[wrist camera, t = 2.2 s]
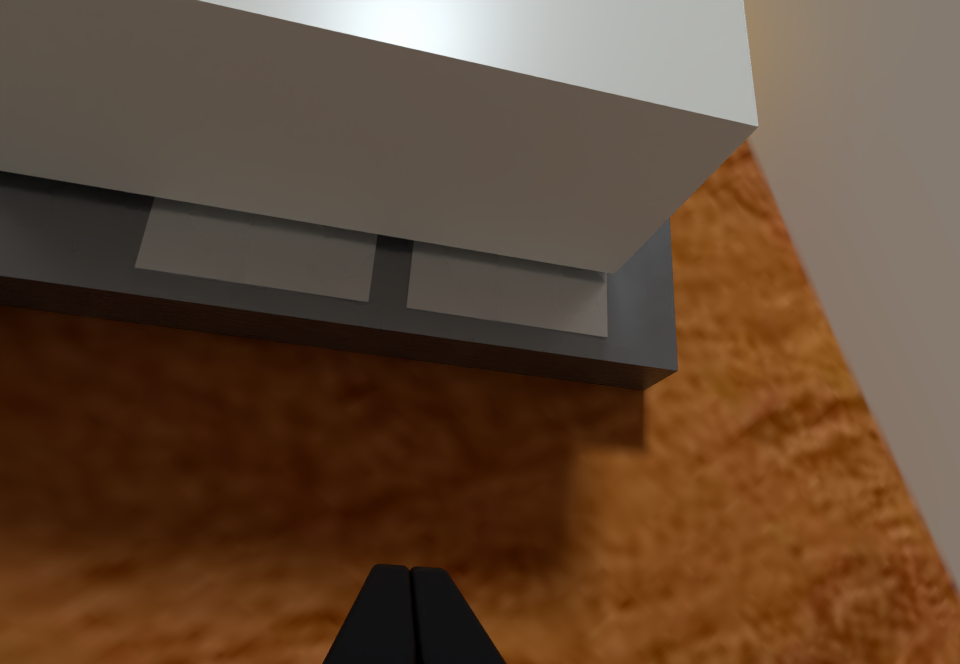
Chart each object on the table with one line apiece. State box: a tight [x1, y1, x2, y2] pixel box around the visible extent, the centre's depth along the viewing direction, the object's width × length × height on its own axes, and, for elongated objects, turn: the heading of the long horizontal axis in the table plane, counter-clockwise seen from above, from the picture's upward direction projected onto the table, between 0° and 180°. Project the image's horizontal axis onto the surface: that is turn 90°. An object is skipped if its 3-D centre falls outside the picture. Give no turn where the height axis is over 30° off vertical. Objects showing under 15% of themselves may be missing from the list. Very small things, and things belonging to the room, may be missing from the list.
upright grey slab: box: [0, 0, 758, 274], centre depth 17 cm, size 22×4×8 cm, turn 86°
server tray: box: [0, 171, 678, 390], centre depth 23 cm, size 10×25×3 cm, turn 86°
